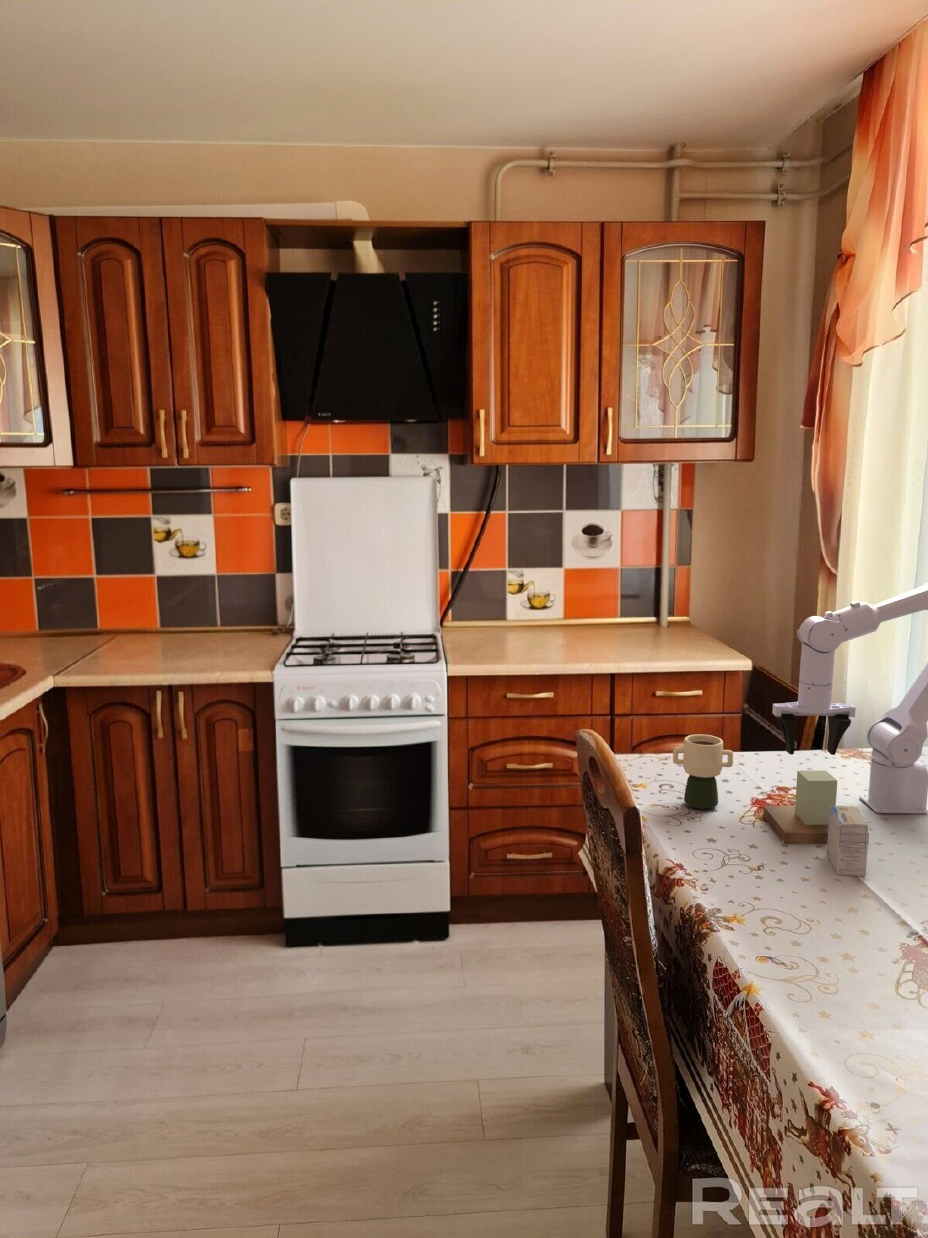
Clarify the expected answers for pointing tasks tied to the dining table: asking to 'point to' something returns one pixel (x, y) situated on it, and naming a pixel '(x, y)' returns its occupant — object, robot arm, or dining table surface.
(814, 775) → the sage block
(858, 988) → the dining table surface
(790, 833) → the walnut base
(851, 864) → the medicine box
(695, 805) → the beige green trophy cup
